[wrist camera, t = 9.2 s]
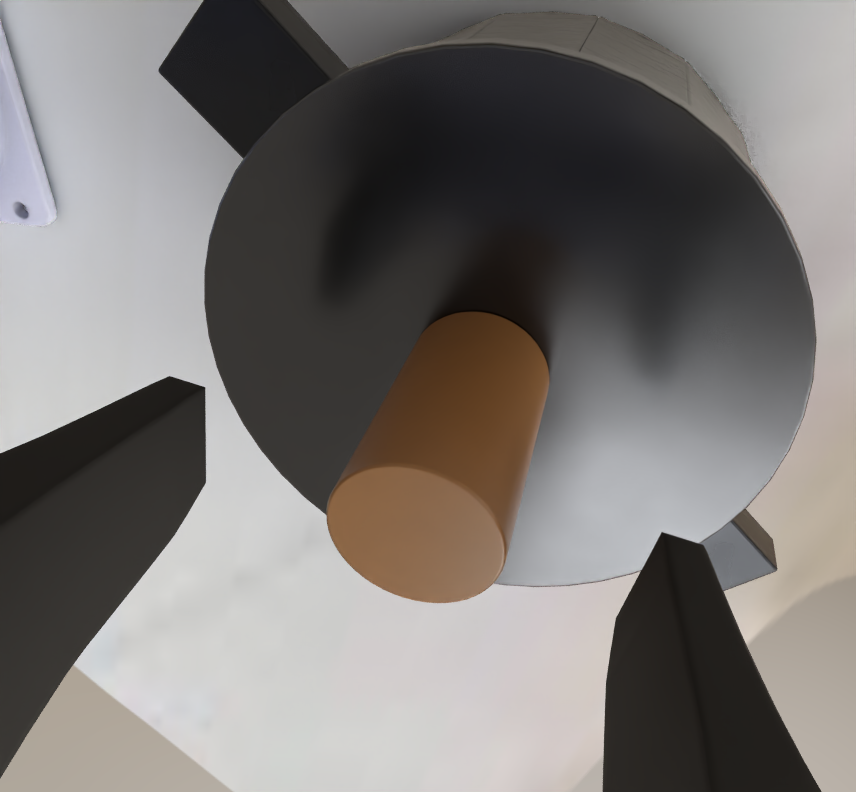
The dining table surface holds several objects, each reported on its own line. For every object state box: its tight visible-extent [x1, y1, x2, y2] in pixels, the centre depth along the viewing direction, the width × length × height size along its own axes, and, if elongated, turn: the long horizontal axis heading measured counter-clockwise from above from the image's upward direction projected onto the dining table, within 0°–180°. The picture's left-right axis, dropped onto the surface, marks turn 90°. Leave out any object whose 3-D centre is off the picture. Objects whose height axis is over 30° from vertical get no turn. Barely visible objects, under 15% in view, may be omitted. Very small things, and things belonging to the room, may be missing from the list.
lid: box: [205, 38, 816, 603], centre depth 12 cm, size 11×11×6 cm
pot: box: [159, 0, 777, 591], centre depth 17 cm, size 10×16×6 cm, turn 45°
